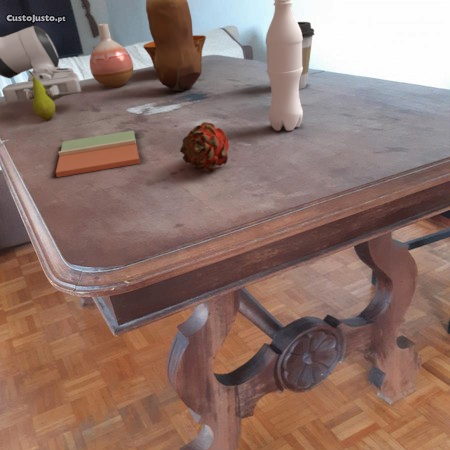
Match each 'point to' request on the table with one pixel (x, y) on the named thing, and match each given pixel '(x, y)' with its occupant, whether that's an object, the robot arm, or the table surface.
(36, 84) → the fruit
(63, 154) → the sorting board
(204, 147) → the dragon fruit
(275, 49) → the water bottle
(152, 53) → the bowl
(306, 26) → the coffee cup
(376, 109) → the table surface
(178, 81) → the butternut squash
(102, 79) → the vase
